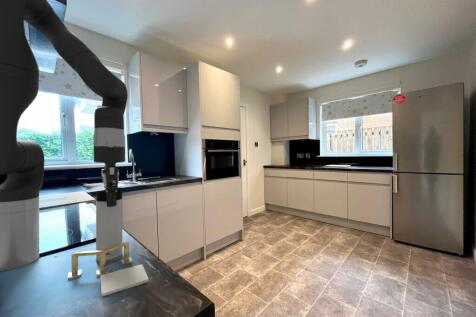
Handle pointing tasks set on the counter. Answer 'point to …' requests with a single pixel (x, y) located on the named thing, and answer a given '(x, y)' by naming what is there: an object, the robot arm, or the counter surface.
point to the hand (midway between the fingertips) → (110, 203)
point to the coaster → (123, 279)
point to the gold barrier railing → (102, 253)
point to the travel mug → (108, 226)
